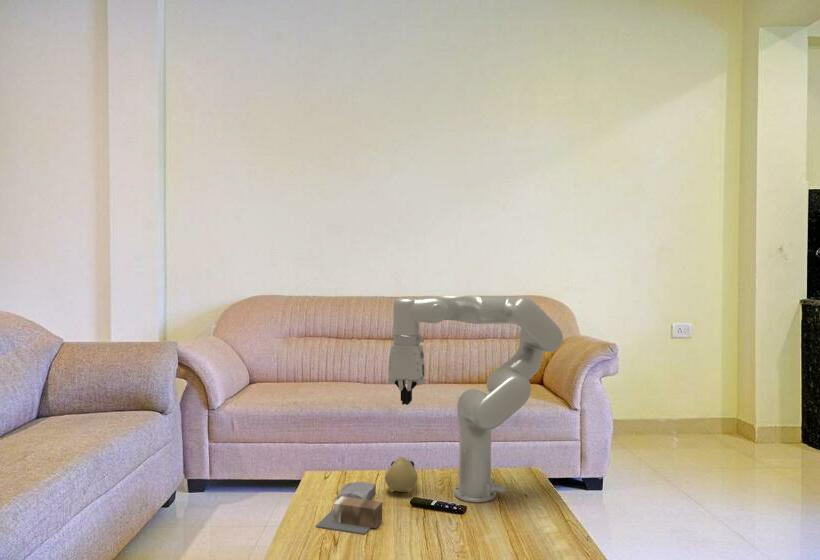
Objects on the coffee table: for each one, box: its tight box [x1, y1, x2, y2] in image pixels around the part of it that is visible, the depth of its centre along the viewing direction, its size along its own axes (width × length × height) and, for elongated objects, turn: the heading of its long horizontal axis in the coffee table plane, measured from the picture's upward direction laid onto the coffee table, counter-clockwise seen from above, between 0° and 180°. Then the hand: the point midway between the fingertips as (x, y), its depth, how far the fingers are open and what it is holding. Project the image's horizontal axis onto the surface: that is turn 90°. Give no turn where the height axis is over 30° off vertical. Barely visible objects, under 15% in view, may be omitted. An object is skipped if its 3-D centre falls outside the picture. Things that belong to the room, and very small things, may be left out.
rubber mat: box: [315, 508, 372, 536], centre depth 154 cm, size 14×12×1 cm
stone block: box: [336, 480, 376, 501], centre depth 169 cm, size 12×5×10 cm
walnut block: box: [333, 496, 383, 529], centre depth 153 cm, size 5×5×12 cm
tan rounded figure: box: [384, 456, 418, 493], centre depth 175 cm, size 10×12×11 cm
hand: (406, 403), depth 166 cm, fingers closed
